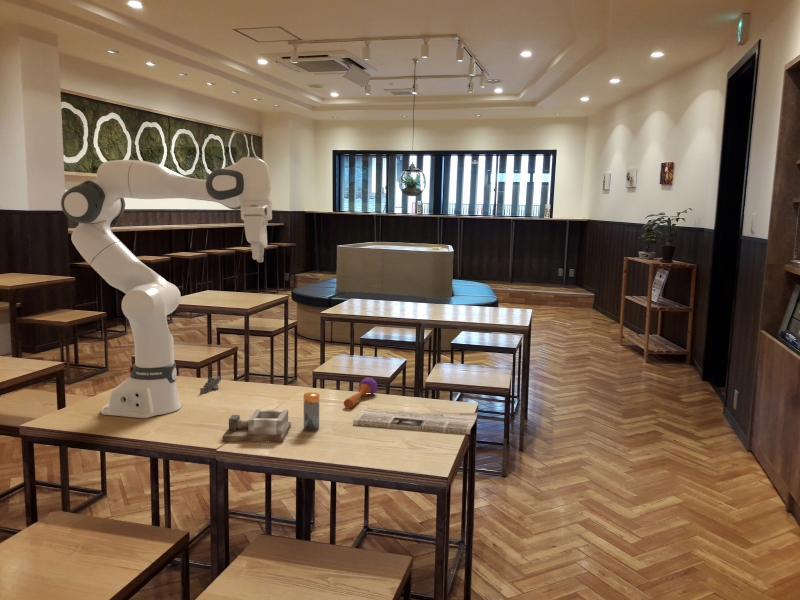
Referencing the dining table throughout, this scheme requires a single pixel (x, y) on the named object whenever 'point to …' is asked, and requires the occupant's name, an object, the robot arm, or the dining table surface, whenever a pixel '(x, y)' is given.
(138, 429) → the dining table surface
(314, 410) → the orange topped cylinder
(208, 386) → the animal figurine
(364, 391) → the kendama
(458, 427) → the newspaper
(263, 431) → the shaft base
